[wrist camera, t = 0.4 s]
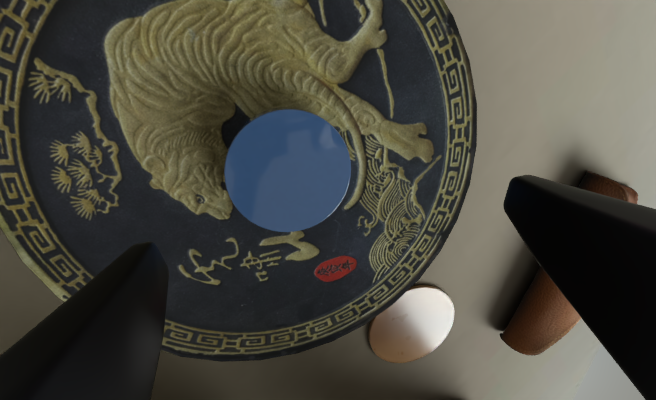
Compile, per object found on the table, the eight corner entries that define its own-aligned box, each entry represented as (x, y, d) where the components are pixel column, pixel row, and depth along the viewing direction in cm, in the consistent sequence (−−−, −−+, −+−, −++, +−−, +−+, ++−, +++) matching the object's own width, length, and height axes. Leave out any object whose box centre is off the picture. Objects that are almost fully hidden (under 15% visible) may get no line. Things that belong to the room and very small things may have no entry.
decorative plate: (464, 312, 28) (84, 414, 22) (451, 299, 30) (96, 389, 24) (507, -127, 17) (-218, -170, 11) (482, -109, 19) (-157, -136, 13)
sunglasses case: (554, 339, 35) (584, 384, 29) (489, 313, 37) (504, 351, 30) (642, 187, 30) (701, 201, 24) (563, 164, 32) (599, 172, 25)
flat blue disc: (351, 194, 22) (363, 207, 19) (252, 232, 21) (253, 250, 19) (321, 89, 19) (332, 90, 17) (205, 128, 18) (200, 135, 16)
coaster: (457, 337, 32) (459, 340, 32) (379, 373, 31) (380, 376, 31) (445, 270, 29) (448, 273, 28) (357, 308, 28) (359, 311, 27)
